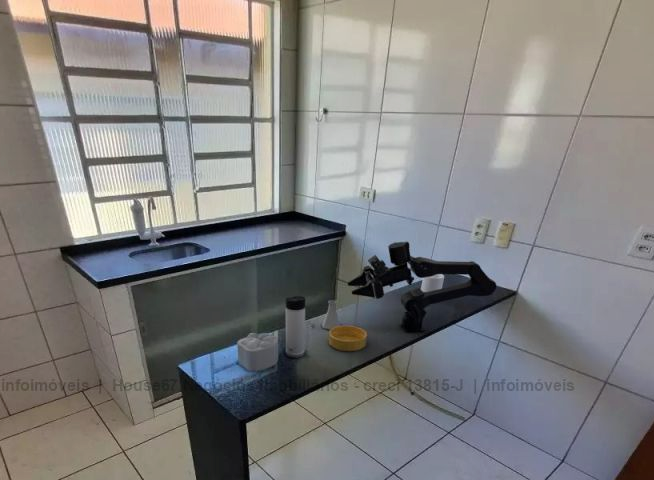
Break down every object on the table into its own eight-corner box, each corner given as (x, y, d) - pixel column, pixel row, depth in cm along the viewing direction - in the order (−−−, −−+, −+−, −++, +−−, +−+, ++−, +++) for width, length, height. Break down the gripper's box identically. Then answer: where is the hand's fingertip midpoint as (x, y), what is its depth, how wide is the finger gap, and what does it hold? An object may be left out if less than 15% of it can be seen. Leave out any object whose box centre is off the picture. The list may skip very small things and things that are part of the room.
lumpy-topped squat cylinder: (234, 360, 133) (232, 336, 128) (267, 349, 140) (266, 326, 135) (252, 373, 126) (250, 348, 121) (285, 361, 133) (285, 337, 128)
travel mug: (291, 359, 133) (291, 302, 123) (282, 351, 138) (282, 295, 128) (308, 355, 136) (309, 298, 125) (298, 347, 141) (299, 292, 130)
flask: (339, 331, 152) (341, 305, 147) (320, 329, 154) (321, 304, 148) (341, 323, 158) (343, 298, 153) (323, 322, 160) (324, 297, 154)
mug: (447, 297, 182) (452, 273, 176) (432, 304, 175) (437, 279, 170) (430, 292, 188) (434, 269, 182) (415, 298, 181) (419, 275, 175)
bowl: (360, 334, 150) (361, 324, 147) (369, 351, 139) (371, 340, 136) (325, 336, 149) (326, 326, 146) (332, 352, 138) (332, 342, 135)
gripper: (383, 246, 147) (341, 259, 149) (396, 260, 131) (348, 275, 133) (388, 275, 152) (347, 287, 154) (401, 292, 136) (355, 305, 139)
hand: (349, 288), depth 145 cm, fingers open, 9 cm apart
